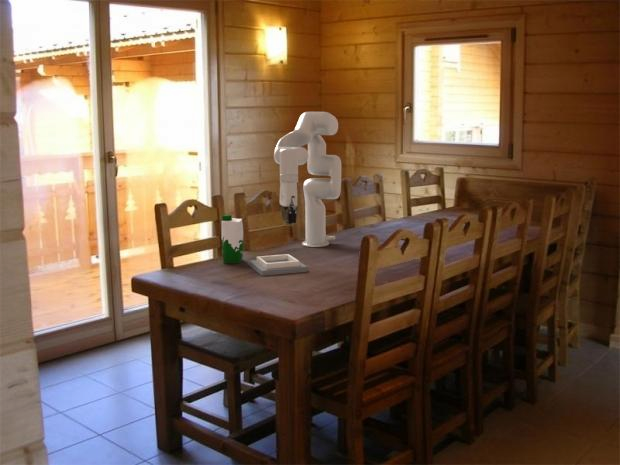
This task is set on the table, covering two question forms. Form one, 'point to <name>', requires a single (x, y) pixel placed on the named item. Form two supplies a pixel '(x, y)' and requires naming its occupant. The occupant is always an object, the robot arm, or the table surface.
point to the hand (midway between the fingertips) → (289, 221)
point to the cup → (285, 215)
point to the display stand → (277, 265)
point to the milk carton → (232, 239)
